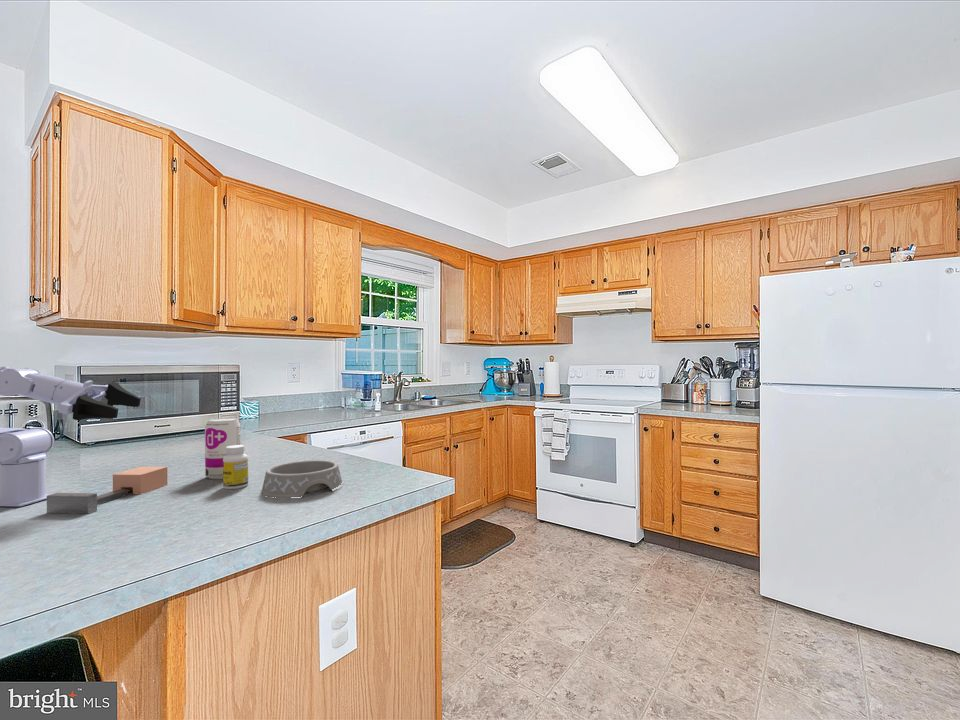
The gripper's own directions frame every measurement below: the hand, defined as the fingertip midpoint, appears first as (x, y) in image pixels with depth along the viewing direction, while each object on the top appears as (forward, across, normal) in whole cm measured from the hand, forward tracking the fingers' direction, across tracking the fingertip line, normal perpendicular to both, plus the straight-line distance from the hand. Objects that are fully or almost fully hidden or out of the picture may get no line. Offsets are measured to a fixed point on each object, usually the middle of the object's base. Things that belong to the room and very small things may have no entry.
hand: (128, 407), depth 104 cm
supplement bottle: (+26, +1, +14) cm, 30 cm away
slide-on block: (+5, +2, +21) cm, 21 cm away
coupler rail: (+2, -10, +18) cm, 21 cm away
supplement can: (+19, +12, +19) cm, 29 cm away
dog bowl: (+42, -2, +9) cm, 43 cm away
